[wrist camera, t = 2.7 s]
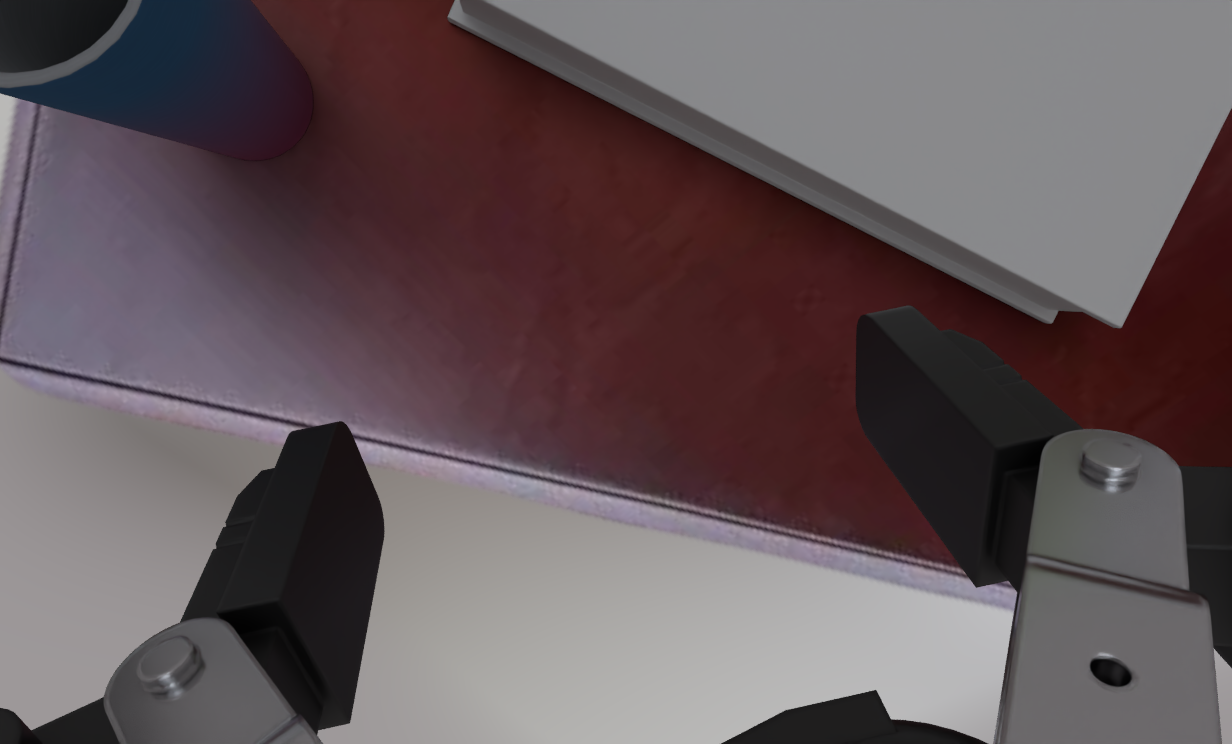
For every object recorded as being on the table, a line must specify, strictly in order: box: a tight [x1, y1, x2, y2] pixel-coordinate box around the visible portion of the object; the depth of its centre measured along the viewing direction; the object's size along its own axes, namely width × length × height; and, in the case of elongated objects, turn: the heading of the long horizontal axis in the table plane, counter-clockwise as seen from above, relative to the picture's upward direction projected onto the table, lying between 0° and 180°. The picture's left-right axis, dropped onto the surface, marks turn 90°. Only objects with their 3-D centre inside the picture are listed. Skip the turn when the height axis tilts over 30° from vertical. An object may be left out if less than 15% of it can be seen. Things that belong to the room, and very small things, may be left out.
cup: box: [0, 0, 313, 161], centre depth 19 cm, size 5×5×12 cm
